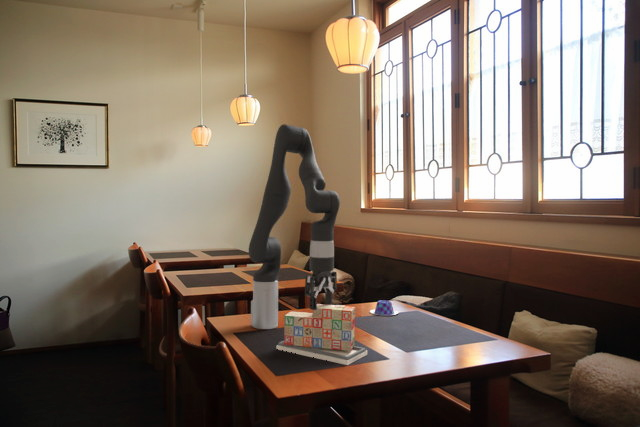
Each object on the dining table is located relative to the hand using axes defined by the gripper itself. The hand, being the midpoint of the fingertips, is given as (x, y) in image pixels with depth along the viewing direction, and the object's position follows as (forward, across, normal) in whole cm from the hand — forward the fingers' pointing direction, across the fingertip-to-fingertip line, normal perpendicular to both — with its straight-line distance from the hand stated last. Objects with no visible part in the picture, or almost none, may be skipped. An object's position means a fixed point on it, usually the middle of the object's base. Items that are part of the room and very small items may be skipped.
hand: (321, 307), depth 153 cm
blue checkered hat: (+15, +59, +8) cm, 62 cm away
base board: (+14, 0, 0) cm, 14 cm away
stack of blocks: (+12, 0, 0) cm, 12 cm away
